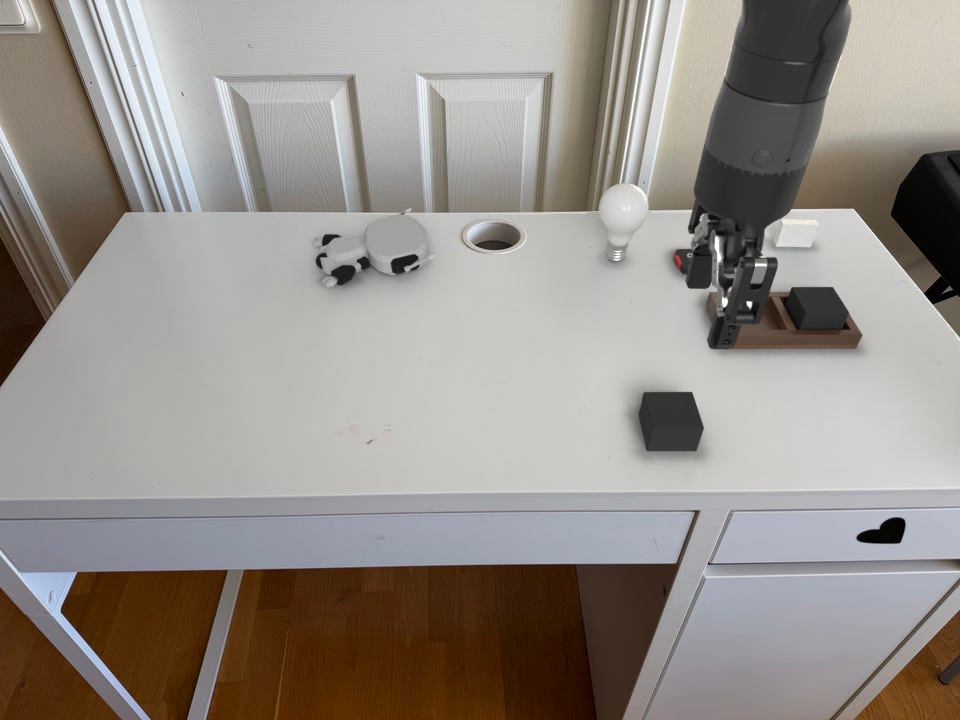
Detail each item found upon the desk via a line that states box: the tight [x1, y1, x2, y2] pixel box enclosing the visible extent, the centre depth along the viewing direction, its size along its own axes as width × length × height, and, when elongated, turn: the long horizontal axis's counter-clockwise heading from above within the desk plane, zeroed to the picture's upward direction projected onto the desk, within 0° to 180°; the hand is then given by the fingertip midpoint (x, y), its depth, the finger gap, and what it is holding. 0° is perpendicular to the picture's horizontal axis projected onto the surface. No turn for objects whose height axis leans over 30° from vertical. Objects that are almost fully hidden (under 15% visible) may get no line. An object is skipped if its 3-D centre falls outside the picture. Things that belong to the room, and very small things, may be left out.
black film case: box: [674, 248, 736, 275], centre depth 93 cm, size 10×1×5 cm
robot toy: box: [311, 207, 435, 289], centre depth 92 cm, size 12×4×15 cm
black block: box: [784, 286, 850, 330], centre depth 83 cm, size 5×5×4 cm
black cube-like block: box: [638, 391, 705, 452], centre depth 70 cm, size 5×5×4 cm
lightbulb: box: [597, 182, 650, 262], centre depth 91 cm, size 6×6×11 cm
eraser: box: [772, 218, 820, 248], centre depth 96 cm, size 1×5×4 cm, turn 89°
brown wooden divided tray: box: [705, 291, 863, 350], centre depth 84 cm, size 8×16×2 cm, turn 90°
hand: (707, 315), depth 63 cm, fingers open, 8 cm apart
